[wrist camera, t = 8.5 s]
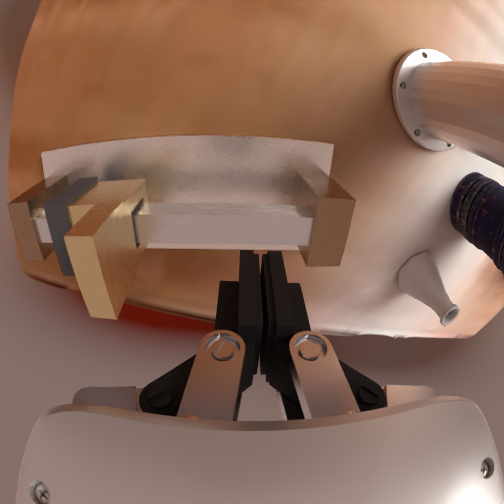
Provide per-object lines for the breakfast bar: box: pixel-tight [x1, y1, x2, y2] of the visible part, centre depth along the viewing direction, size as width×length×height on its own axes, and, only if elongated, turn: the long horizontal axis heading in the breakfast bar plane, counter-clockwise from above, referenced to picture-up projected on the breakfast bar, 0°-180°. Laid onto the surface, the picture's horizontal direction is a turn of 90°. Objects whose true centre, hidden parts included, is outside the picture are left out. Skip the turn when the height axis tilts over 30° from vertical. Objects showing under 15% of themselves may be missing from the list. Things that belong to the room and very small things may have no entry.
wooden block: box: [64, 179, 148, 319], centre depth 18 cm, size 5×6×11 cm
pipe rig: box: [7, 134, 356, 266], centre depth 23 cm, size 31×12×8 cm, turn 87°
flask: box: [398, 251, 460, 326], centre depth 31 cm, size 7×7×10 cm
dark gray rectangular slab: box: [43, 177, 98, 276], centre depth 20 cm, size 2×6×6 cm, turn 177°
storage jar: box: [450, 172, 504, 274], centre depth 23 cm, size 10×10×15 cm
